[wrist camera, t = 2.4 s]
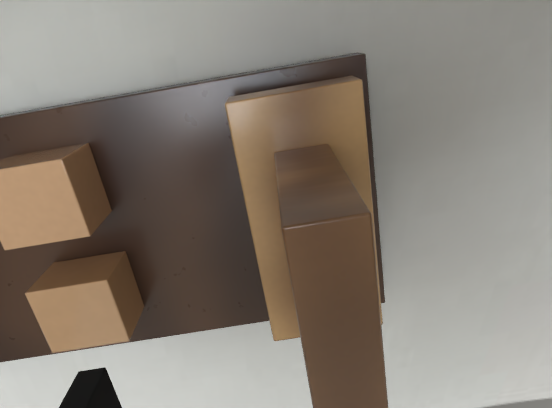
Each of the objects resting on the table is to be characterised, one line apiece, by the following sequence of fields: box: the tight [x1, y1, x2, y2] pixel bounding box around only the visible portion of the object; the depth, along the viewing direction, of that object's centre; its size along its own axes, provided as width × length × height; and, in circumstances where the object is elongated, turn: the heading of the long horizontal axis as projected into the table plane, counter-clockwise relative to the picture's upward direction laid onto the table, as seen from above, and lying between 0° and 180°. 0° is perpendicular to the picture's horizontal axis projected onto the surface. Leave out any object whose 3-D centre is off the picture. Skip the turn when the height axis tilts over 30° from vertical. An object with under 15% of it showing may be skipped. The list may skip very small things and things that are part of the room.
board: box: [0, 53, 385, 362], centre depth 25 cm, size 28×15×2 cm, turn 99°
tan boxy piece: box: [0, 143, 112, 250], centre depth 21 cm, size 4×4×3 cm
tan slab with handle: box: [225, 76, 388, 408], centre depth 18 cm, size 6×13×12 cm, turn 9°
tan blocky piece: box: [25, 251, 144, 353], centre depth 24 cm, size 4×4×3 cm
